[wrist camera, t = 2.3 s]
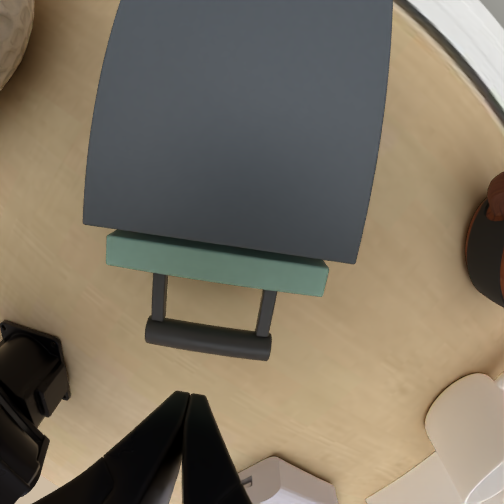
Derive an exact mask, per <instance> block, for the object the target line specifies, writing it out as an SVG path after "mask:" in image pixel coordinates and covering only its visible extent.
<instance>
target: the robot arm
mask: <svg viewBox="0 0 504 504" xmlns="http://www.w3.org/2000/svg"><path fill="white" fill-rule="evenodd" d="M0 328H1V333H2V337H3V340H2V341H1V342H0V504H14V503H15V502H16V501H17V500H18V499H19V498H20V497H22V496H24V495H26V494H27V493H28V492H30V491H31V490H32V488H33V487H34V486H35V484H36V483H37V481H38V479H39V477H40V474H41V470H42V467H43V463H44V459H45V456H46V452H47V449H48V445H49V442H50V440H49V439H48V438H47V437H46V436H45V435H43V434H42V433H41V432H40V431H39V430H38V429H37V428H38V426H39V425H40V423H41V421H42V420H43V418H44V417H50V416H51V415H52V413H53V412H54V410H55V408H56V407H57V405H58V404H59V402H60V401H61V399H63V400H68V399H69V398H70V391H69V383H68V378H67V373H66V367H65V364H64V360H63V354H62V348H61V343H60V341H59V339H58V338H56V337H54V336H51V335H47V334H44V333H41V332H38V331H35V330H32V329H29V328H26V327H23V326H20V325H17V324H14V323H11V322H8V321H6V320H4V321H2V322H1V323H0ZM54 343H55V344H54ZM181 461H182V504H252V502H251V500H250V498H249V496H248V494H247V492H246V490H245V488H244V486H243V484H242V483H241V480H240V477H239V475H238V473H237V471H236V468H235V466H234V464H233V462H232V459H231V457H230V455H229V452H228V450H227V448H226V445H225V443H224V441H223V438H222V436H221V433H220V431H219V428H218V426H217V423H216V421H215V418H214V416H213V413H212V411H211V408H210V406H209V403H208V400H207V398H206V396H205V395H200V394H194V393H193V394H191V395H190V394H189V393H188V392H182V391H175V392H174V393H173V394H172V395H170V396H169V397H168V398H167V399H166V400H165V401H164V402H163V403H162V404H161V405H160V406H159V407H157V408H156V409H155V410H154V411H153V412H152V413H151V414H150V415H149V416H148V417H147V418H145V419H144V420H143V421H142V422H141V423H140V424H139V425H138V426H137V427H135V428H134V429H133V430H132V431H131V432H130V433H129V434H128V435H127V436H125V437H124V438H123V439H122V440H121V441H120V442H119V443H117V444H116V445H115V446H114V447H113V448H112V449H111V450H109V451H108V452H107V453H106V454H105V455H104V458H103V457H101V458H100V459H99V460H98V461H97V462H95V463H94V464H93V465H92V466H91V467H89V468H88V469H87V470H86V471H84V472H83V473H82V474H80V475H79V476H77V477H76V478H74V479H73V480H71V481H70V482H68V483H67V484H65V485H63V486H62V487H60V488H58V489H57V490H55V491H54V492H52V493H50V494H48V495H47V496H45V497H43V498H41V499H40V500H38V501H36V502H34V503H32V504H169V502H170V498H171V495H172V492H173V489H174V485H175V482H176V479H177V476H178V473H179V469H180V466H181Z"/></svg>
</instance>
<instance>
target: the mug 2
mask: <svg viewBox="0 0 504 504" xmlns="http://www.w3.org/2000/svg"><path fill="white" fill-rule="evenodd" d="M465 254H466V262H467V267H468V272H469V275H470V279H471V281H472V283H473V285H474V286H475V288H476V289H477V290H478V291H479V292H480V293H482V294H483V295H484V296H486V297H487V298H489V299H490V300H492V301H493V302H495V303H496V304H498V305H500V306H502V307H503V308H504V172H502V173H500V174H499V175H497V176H496V177H495V178H494V179H493V180H492V181H491V183H490V185H489V188H488V197H487V198H486V199H485V200H484V201H483V202H482V203H481V204H480V206H479V207H478V209H477V210H476V212H475V214H474V216H473V218H472V220H471V223H470V226H469V229H468V233H467V238H466V251H465Z"/></svg>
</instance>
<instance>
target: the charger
mask: <svg viewBox="0 0 504 504" xmlns="http://www.w3.org/2000/svg"><path fill="white" fill-rule="evenodd" d="M238 475H239V477H240V480H241V483H242V484H243V486H244V488H245V490H246V492H247V494H248V496H249V498H250V500H251V502H252V504H338V499H337V495H336V491H335V487H334V485H332V484H330V483H328V482H325V481H323V480H321V479H319V478H317V477H315V476H313V475H311V474H309V473H307V472H305V471H303V470H301V469H299V468H297V467H295V466H293V465H291V464H289V463H287V462H285V461H284V460H282V459H280V458H278V457H276V456H273V457H269V458H266V459H264V460H262V461H260V462H258V463H257V464H255V465H253V466H251V467H249V468H247V469H245V470H243V471H241V472H239V473H238Z"/></svg>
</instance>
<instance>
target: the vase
mask: <svg viewBox="0 0 504 504" xmlns="http://www.w3.org/2000/svg"><path fill="white" fill-rule="evenodd" d="M34 5H35V0H0V91H1V89H2V88H3V87H4V86H5V84H6V83H7V82H8V80H9V79H10V78H11V76H12V75H13V73H14V72H15V70H16V69H17V67H18V66H19V64H20V62H21V60H22V58H23V56H24V53H25V51H26V48H27V45H28V41H29V38H30V34H31V30H32V25H33V20H34Z"/></svg>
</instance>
